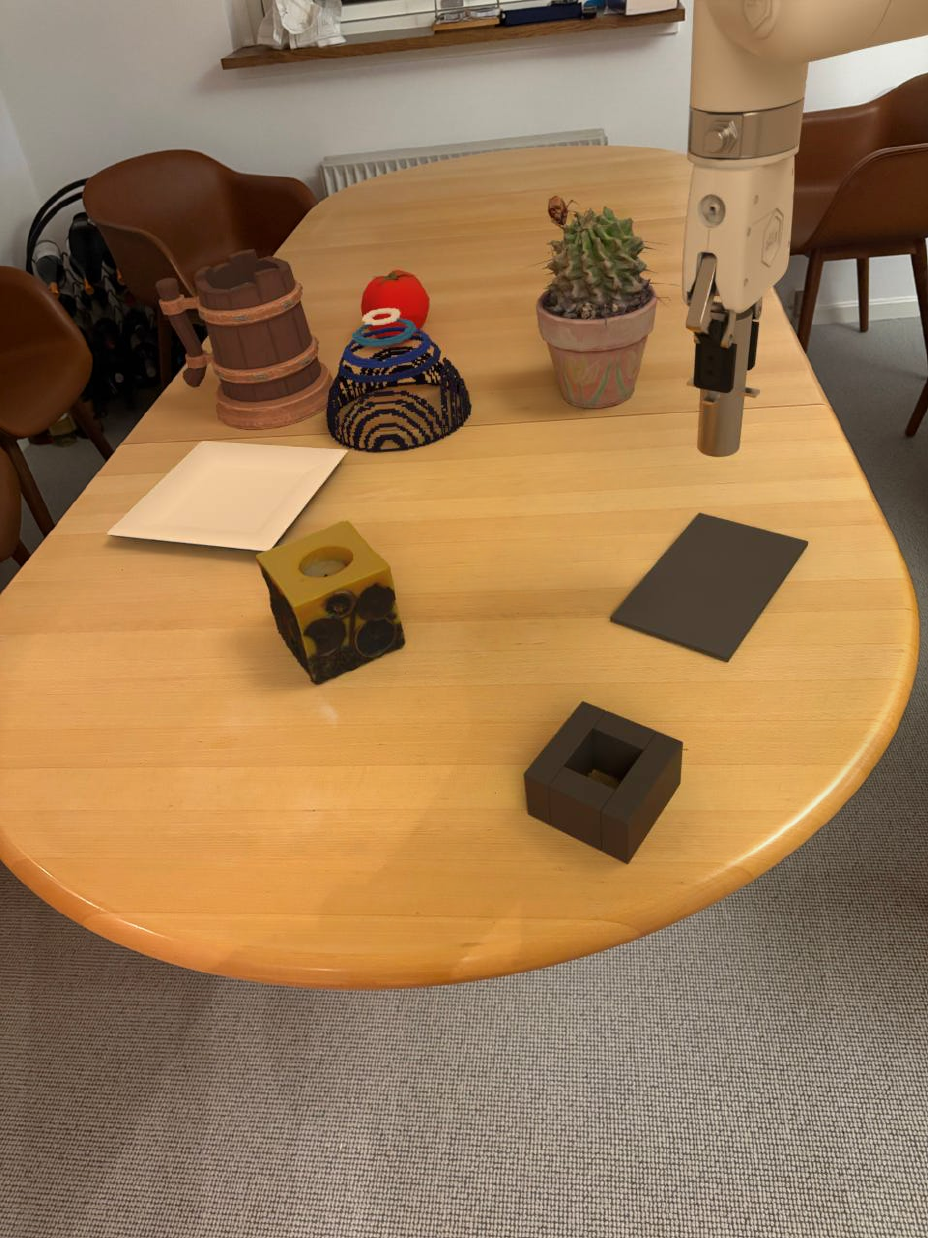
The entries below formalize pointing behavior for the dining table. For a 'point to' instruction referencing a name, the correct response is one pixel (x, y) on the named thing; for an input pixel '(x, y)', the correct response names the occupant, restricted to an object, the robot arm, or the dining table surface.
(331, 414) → the decorative bowl
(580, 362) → the potted plant
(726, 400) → the bronze metal rod
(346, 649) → the candle
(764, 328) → the dining table surface
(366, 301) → the tomato
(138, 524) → the plate
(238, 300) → the mug
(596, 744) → the dark square ring block
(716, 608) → the mat
